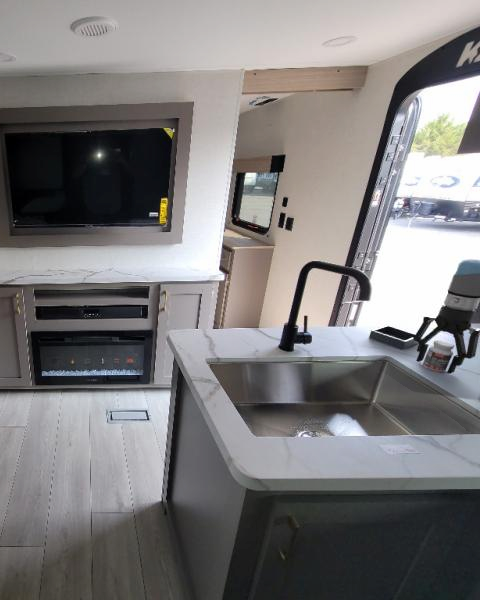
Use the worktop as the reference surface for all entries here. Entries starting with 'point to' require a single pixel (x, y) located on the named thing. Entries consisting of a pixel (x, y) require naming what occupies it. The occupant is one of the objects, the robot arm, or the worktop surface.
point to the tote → (393, 337)
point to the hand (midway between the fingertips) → (434, 366)
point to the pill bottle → (438, 356)
